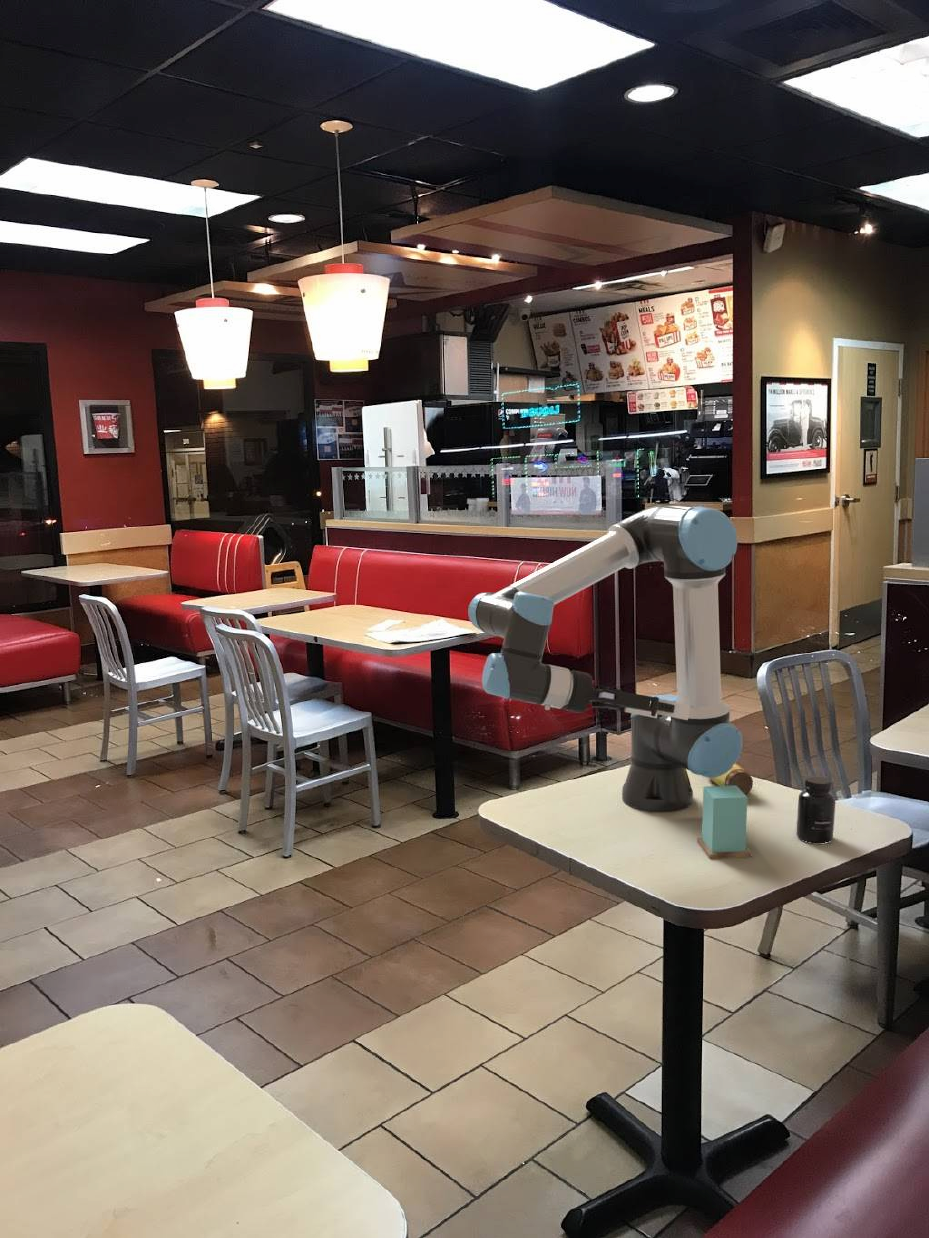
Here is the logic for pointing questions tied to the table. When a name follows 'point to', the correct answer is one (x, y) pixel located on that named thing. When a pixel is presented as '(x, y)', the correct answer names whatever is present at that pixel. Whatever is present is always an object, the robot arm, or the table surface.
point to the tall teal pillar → (724, 818)
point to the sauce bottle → (735, 779)
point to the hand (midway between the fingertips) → (672, 712)
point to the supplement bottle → (816, 811)
